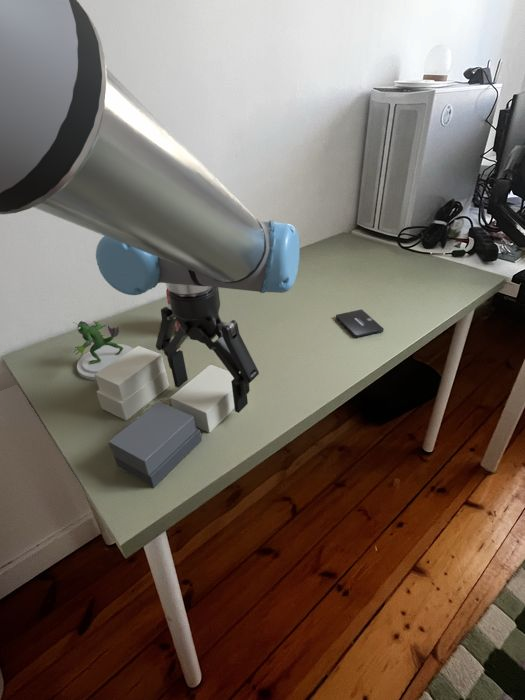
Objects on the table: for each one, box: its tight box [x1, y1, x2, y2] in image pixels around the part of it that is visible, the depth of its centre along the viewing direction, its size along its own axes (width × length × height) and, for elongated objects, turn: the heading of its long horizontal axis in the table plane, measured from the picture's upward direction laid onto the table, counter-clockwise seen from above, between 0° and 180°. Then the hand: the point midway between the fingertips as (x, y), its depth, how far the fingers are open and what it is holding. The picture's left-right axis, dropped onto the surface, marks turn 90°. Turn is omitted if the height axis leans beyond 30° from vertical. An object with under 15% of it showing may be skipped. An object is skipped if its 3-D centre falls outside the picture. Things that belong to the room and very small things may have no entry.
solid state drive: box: [335, 309, 385, 339], centre depth 99 cm, size 7×10×1 cm
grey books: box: [108, 401, 202, 489], centre depth 68 cm, size 11×8×6 cm
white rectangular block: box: [169, 364, 235, 434], centre depth 77 cm, size 11×8×4 cm
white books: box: [94, 345, 170, 421], centre depth 79 cm, size 11×6×8 cm, turn 147°
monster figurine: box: [72, 320, 134, 381], centre depth 89 cm, size 12×12×10 cm
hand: (210, 395), depth 77 cm, fingers open, 13 cm apart
